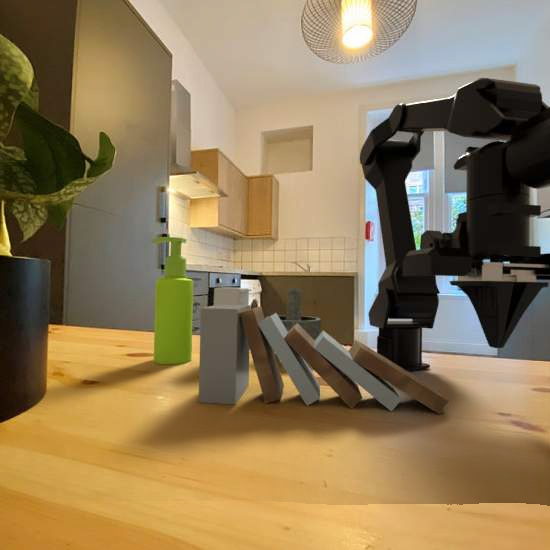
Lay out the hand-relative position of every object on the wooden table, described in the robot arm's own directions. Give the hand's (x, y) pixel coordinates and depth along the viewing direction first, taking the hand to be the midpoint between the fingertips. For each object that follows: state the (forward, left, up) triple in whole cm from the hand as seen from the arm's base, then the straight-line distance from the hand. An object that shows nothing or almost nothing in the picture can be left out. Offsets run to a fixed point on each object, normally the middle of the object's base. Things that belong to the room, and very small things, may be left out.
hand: (495, 347), depth 37 cm
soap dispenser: (+28, -35, -7) cm, 46 cm away
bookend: (+24, -16, -6) cm, 30 cm away
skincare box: (+19, -31, -7) cm, 37 cm away
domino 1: (+20, -13, -6) cm, 24 cm away
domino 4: (+9, -6, -6) cm, 12 cm away
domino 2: (+16, -10, -6) cm, 20 cm away
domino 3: (+12, -8, -6) cm, 16 cm away
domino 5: (+5, -3, -6) cm, 8 cm away
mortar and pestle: (+8, -30, -7) cm, 32 cm away
